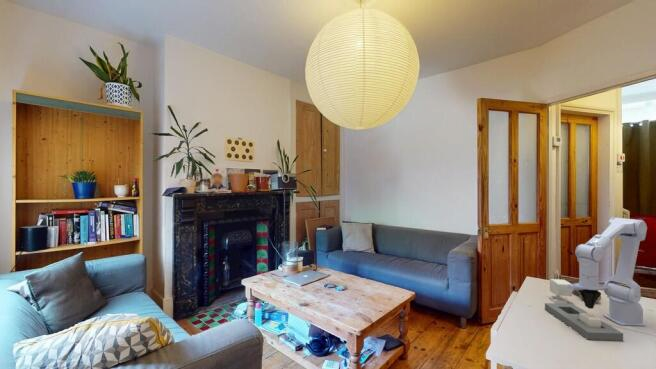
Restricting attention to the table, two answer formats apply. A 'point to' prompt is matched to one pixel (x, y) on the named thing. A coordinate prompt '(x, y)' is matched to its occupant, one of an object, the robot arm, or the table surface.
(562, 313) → the socket board
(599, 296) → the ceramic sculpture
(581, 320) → the plug
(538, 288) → the table surface
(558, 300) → the security camera
